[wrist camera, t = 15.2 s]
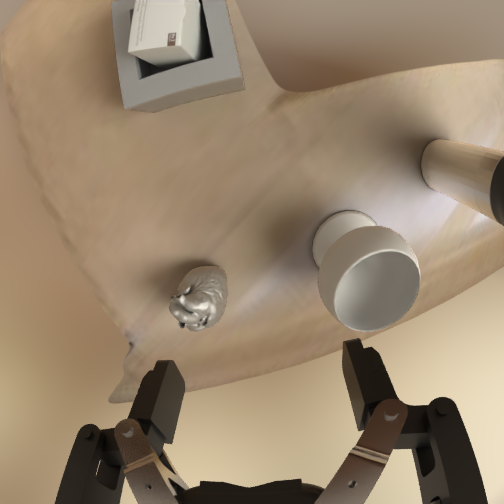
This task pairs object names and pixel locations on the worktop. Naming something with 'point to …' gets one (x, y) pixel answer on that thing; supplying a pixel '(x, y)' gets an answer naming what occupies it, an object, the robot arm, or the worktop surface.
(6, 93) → the worktop surface
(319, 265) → the chalice
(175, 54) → the skincare box
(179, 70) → the open gray box
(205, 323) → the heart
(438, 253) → the worktop surface
